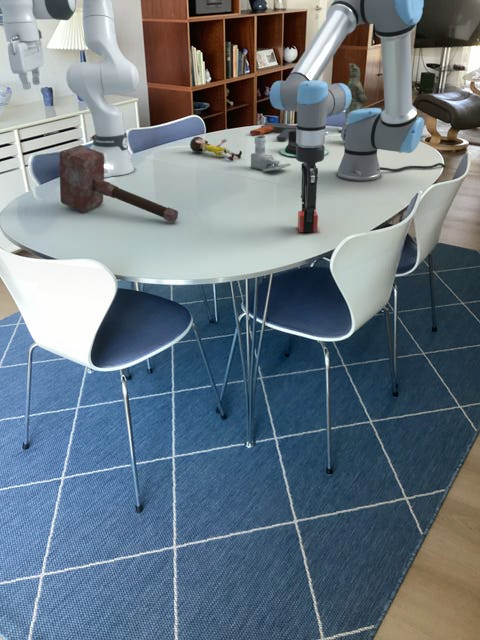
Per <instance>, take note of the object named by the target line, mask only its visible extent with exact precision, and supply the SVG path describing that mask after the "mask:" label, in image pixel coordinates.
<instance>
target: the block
mask: <svg viewBox="0 0 480 640" xmlns="http://www.w3.org/2000/svg"><path fill="white" fill-rule="evenodd" d="M318 223H319V215H318V213H317V210H314V227H313V232H312V233H314V232H315V233H316V232H318ZM303 227H304V211H302V210H298V212H297V229H298V231H299V233H304V232H303Z"/></svg>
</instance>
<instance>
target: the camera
mask: <svg viewBox="0 0 480 640" xmlns="http://www.w3.org/2000/svg"><path fill="white" fill-rule="evenodd" d="M266 144H267V136H266V135H263V134H262V135H259V136H256V135H254V145H255V146H254V153H251V154H250V168H252V169H257V170H261V171H262V172H263V173H265V172H273V171H278V170H281V169H284V168H287V167H290V166H291V165H292V163H284V164H283V163H282V164H281V163H280V160H277V159H274V156H273V155H270V154H268V153H267V154H266Z"/></svg>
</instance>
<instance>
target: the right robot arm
mask: <svg viewBox="0 0 480 640" xmlns="http://www.w3.org/2000/svg"><path fill="white" fill-rule="evenodd" d="M424 4H425V1H424V0H333V1H332V3H331V4H330V6H329V7H328V9H327V11H326V13H325V15H326V18H325V20H324V21H323V23H322V25H321V26H320V28H319V29H318V31H317V32H316V34H315V35H314V37H313V38H312V40H311V41H310V43H309V44H308V46H307V48H306V49H305V50H304V52H303V54H302V55H301V56H300V58H299V60H298V61H297V62H296V64H295V66H294V67H293V69H292V71H291V72H290V73H289V75H288V77H287V78H286V80H276V81H275V82H273V83H272V85H271V87H270V91H269V101H270V104H271V106H272V107H273V108H275V110H276V109H277V110H281V111H285V112H287V111H288V112H296V119H297V120H296V125H297V128H296V143H297V144H298V145H297V146H296V156H295V160H297V162H300V163H301V168H300V171H301V192H300V194H301V195H300V198H301V211H304V227H303V232H302V233H314V232H313V227H314V211H317V189H318V179H319V177H318V174H319V168H318V167H317V165H316V164H317V163H321V162H323V161H324V159H325V155H324V151H325V150H326V149H325V145H324V144H326V137H325V136H328V131H327V130H326V127H327V118H328V117H331V116H335V115H339V114H341V113H343V112H345V110H346V109H347V108H348V107H349V105H350V103H351V99H352V96H351V91H350V89H349V88H348V87H347V85H346V84H345V83H342V82H338V83H337V82H334V83H332V84H328V83H327V82H326V81H324V80H320V77H322V75H323V73H324V72H325V69H326V68H327V67H328V65H329V63H330V62H331V60H332V59H333V58H334V56H335V54H336V52H337V51H338V50H339V48H340V46H341V45H342V43H343V41H344V40H345V38H346V37H347V36H348V35H349V34H351V33H353V32H354V31H355V30H356V28H357V27H358V26H360V25H374V34H375V35H376V36H377V37H378V38H380V49H381V50H380V51H381V65H382V66H381V68H382V84H383V99H384V109H383V110H382V109H381V107H367V108H362V109H359V110H354V111H351V112H350V113H349V114H348V116H347V122H346V121H345V123H346V135H345V141H344V151H343V156H342V157H341V161H340V163H339V167H338V169H337V177H339V178H341V179H343V180H346V181H347V180H348V181H354V182H369V181H374V180H377V179H379V178H381V177H380V176H381V171H388V172H400V171H403V170H408V169H425V170H426V169H428V170H429V169H433V168H434V169H435V168H436V167H440V166H441V167H442V168H446V167H447V166H446V165H445V164H444V163H443V162H438V163H434V164H432V165H406V166H402V167H397V168H389V167H383V166H380V164H379V159H378V150H381V151H389V152H395V153H396V152H397V153H399V154H401V153H402V154H403V153H404V154H410V153H412V152H414V151H415V150H416V149H417V148H418V146H419V144H420V142H421V139H422V137H423V133H424V129H425V119H424V118H422V117H421V116H418V110H417V107H415V106H414V105H413V91H412V90H413V87H412V85H413V83H412V82H413V81H412V40H411V39H412V38H411V37H412V35H411V34H412V33H413V31H414V30H415V28H416V26H417V24H418V23H419V22H420V20H421V18H422V16H423V8H424Z"/></svg>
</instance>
